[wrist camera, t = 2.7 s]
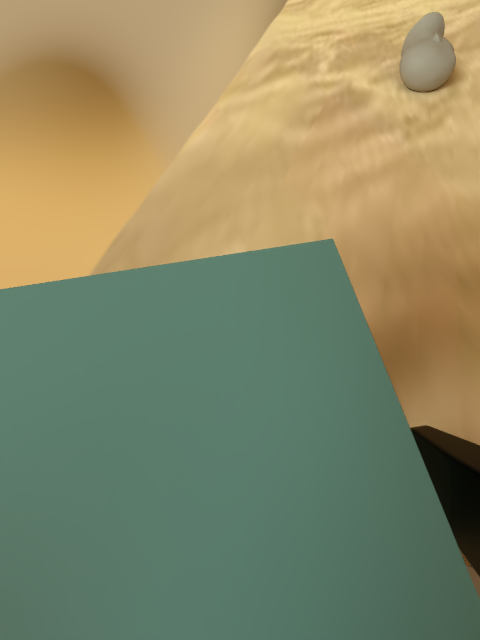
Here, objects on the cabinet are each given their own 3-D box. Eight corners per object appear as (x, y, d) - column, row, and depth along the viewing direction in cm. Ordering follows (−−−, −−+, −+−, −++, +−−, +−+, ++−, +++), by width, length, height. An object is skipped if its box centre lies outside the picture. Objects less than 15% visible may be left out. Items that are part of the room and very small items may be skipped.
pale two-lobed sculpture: (433, 114, 31) (385, 91, 30) (437, 73, 34) (394, 52, 34) (472, 64, 27) (417, 37, 27) (472, 23, 30) (423, -1, 30)
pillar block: (312, 554, 13) (541, 748, 2) (188, 575, 13) (-181, 882, 2) (285, 427, 16) (332, 238, 5) (182, 444, 15) (-2, 289, 5)
